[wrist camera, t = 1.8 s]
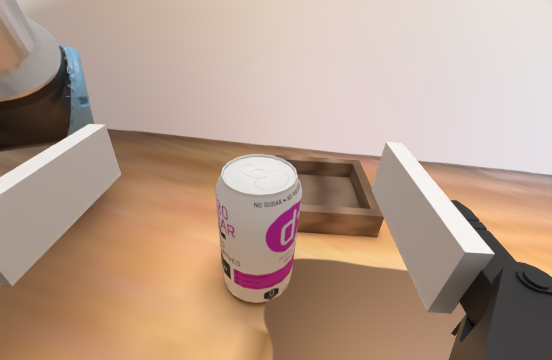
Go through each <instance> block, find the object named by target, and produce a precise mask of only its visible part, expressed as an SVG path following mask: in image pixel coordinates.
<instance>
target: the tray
mask: <svg viewBox="0 0 552 360" xmlns="http://www.w3.org/2000/svg"><path fill="white" fill-rule="evenodd" d="M275 157H278V158H281V159H283V160H285V161H287V162H289V163H290V164H291V165H292V166H293V167H294V168H295V169H296V172H297V176H298V178H299V180H300V182H301V187H302V198H301V205H300V213H299V220H298V228H297V232H310V233H325V234H341V235H356V236H371V237H377V236H378V233H379V230H380V227H381V225H382V222H383V219H384V217H383V215H382V212H381V210H380V208H379V206H378V204H377V201H376V199H375V197H374V195H373V193H372V188H371V185H370V183H369V181H368V179H367V177H366V174H365V172H364V170H363V168H362V166H361V163H360V161H359V160H344V159H329V158H313V157H298V156H282V155H275Z"/></svg>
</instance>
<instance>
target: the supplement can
mask: <svg viewBox="0 0 552 360" xmlns="http://www.w3.org/2000/svg"><path fill="white" fill-rule="evenodd" d="M215 191H216V202H217V213H218V224H219V235H220V246H221V257H222V268H223V277H224V281H225V284H226V287H227V288H228V289H229V291H230V292H231V293H232V294H233V295H234V296H236V297H238V298H240V299H241V300H243V301H248V302H254V303H260V302H266V301H270V300H272V299H274V298H276V297H278V296H279V295H281V294H282V292H283V291H284V290H285V289H286V288H287V287H288V284H289V281H290V278H291V273H292V266H293V259H294V251H295V243H296V236H297V228H298V220H299V213H300V205H301V198H302V187H301V182H300V180H299V178H298V176H297V172H296V169H295V168H294V167H293V166H292V165H291V164H290V163H289V162H287V161H285V160H283V159H281V158H278V157H275V156H270V155H261V154H258V155H246V156H242V157H238V158H236V159H234V160H232V161H230V162H228V163H227V164H226V165H225V166H224V167H223V170H222V174H221V175H220V177H219V179H218V181H217V185H216V188H215Z"/></svg>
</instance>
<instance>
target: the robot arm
mask: <svg viewBox="0 0 552 360" xmlns="http://www.w3.org/2000/svg"><path fill="white" fill-rule="evenodd" d="M48 145H53V146H52V147H50V148H48V149H47V150H45V151H43V152H42V153H40V154H38V155H37V156H35V157H33V158H32V159H30V160H28V161H27V162H25V163H23V164H22V165H20V166H18V167H17V168H15V169H13V170H12V171H10V172H8V173H7V174H5V175H3V176H2V177H0V286H13V285H14V284H15V283H16V282H17V281H18V280H19V279H20V278H21V277H22V276H23V275H24V274H25V273H26V272H27V271H28V270H29V269H30V268H31V267H32V266H33V265H34V264H35V263H36V262H37V261H38V259H39V258H40V257H41V256H42V255H43V254H44V253H45V252H46V251H47V250H48V249H49V248H50V247H51V246H52V245H53V244H54V243H55V242H56V241H57V240H58V239H59V238H60V237H61V236H62V235H63V234H64V233H65V232H66V231H67V230H68V229H69V228H70V227H71V226H72V225H73V224H74V223H75V222H76V221H77V220H78V219H79V218H80V216H81V215H82V214H83V213H84V212H85V211H86V210H87V209H88V208H89V207H90V206H91V205H92V204H93V203H94V202H95V201H96V200H97V199H98V198H99V197H100V196H101V195H102V194H103V193H104V192H105V191H106V190H107V189H108V188H109V187H110V186H111V185H112V184H113V183H114V182H115V181H116V180H117V179H118V178H119V177H120V176H121V172H120V169H119V166H118V163H117V160H116V157H115V153H114V150H113V147H112V144H111V141H110V138H109V134H108V131H107V128H106V126H105V125H98V124H94V122H93V117H92V112H91V107H90V103H89V97H88V93H87V88H86V83H85V78H84V74H83V69H82V65H81V60H80V56H79V53H78V51H77V50H76V49H74V48H70V47H66V46H61V45H60V46H58V44H57V42H56V40H55V39H54V37H53V36H52V35H51V34H50V33H49V32H48V31H47V30H46V29H45V28H44V27H42V26H41V25H39V24H38V23H36V22H34V21H33V20H31V19H29V18H27V17H25V16H24V15H23V12H22V11H21V9H20V7H19V5H18V3H17V2H16V0H0V152H2V151H10V150H17V149H24V148H32V147H40V146H48ZM372 193H373V195H374V197H375V199H376V201H377V204H378V206H379V208H380V210H381V212H382V215H383V217H384V219H385V221H386V223H387V226H388V228H389V230H390V232H391V234H392V237H393V239H394V241H395V243H396V245H397V248H398V250H399V252H400V254H401V256H402V259H403V261H404V263H405V265H406V267H407V270H408V272H409V274H410V276H411V278H412V281H413V283H414V285H415V287H416V289H417V292H418V294H419V296H420V298H421V300H422V303H423V305H424V307H425V309H426V311H427V312H433V313H449V314H451V313H452V312H453V310H454V309H455V308H456V306H457V305H458V304H459V302H460V304H461V305H462V307H463V308H464V310H465V312H466V315H465V316H464V318H463V319H462V321H461V322H460V323H459V324H458V325H457V327H456V328H455V329H454V330H453V332H452V333H451V334H453V335H454V336H455V335H456V334H457V336H456V339H455V342H454V345H453V348H452V352H451V354H450V358H449V360H552V277H551V276H550V275H548V274H547V273H545V272H543V271H542V270H540V269H538V268H536V267H534V266H531V265H528V264H525V263H521V262H516V261H515V260H514V258H513V257H512V256H511V255H510V254H509V253H508V252H507V251H506V249H505V248H504V247H503V246H502V245H501V244H500V243H499V242H498V240H497V239H496V238H495V237H494V236H493V235H492V234H491V233H490V232H489V231H487V228H486V227H485V226H484V225H483V224H482V223H481V222H479V219H478V218H477V217H476V216H475V215H474V214H473V212H472V211H471V210H470V209H468V208H467V207H465V206H464V205H462V204H461V203H460V202H458V201H457V200H449V198H448V197H447V196H446V195H445V194H444V192H443V191H442V190H441V189H440V188H439V186H438V185H437V184H436V183H435V182H434V180H433V179H432V178H431V177H430V176H429V174H428V173H427V172H426V171H425V170H424V168H423V167H422V166H421V165H420V164H419V162H418V161H417V160H416V159H415V158H414V156H413V155H412V154H411V153H410V152H409V150H407V148H406V147H405V146H404V145H403V144H402V143H393V142H386V144H385V147H384V150H383V153H382V157H381V160H380V163H379V167H378V170H377V173H376V177H375V180H374V183H373V186H372Z"/></svg>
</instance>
